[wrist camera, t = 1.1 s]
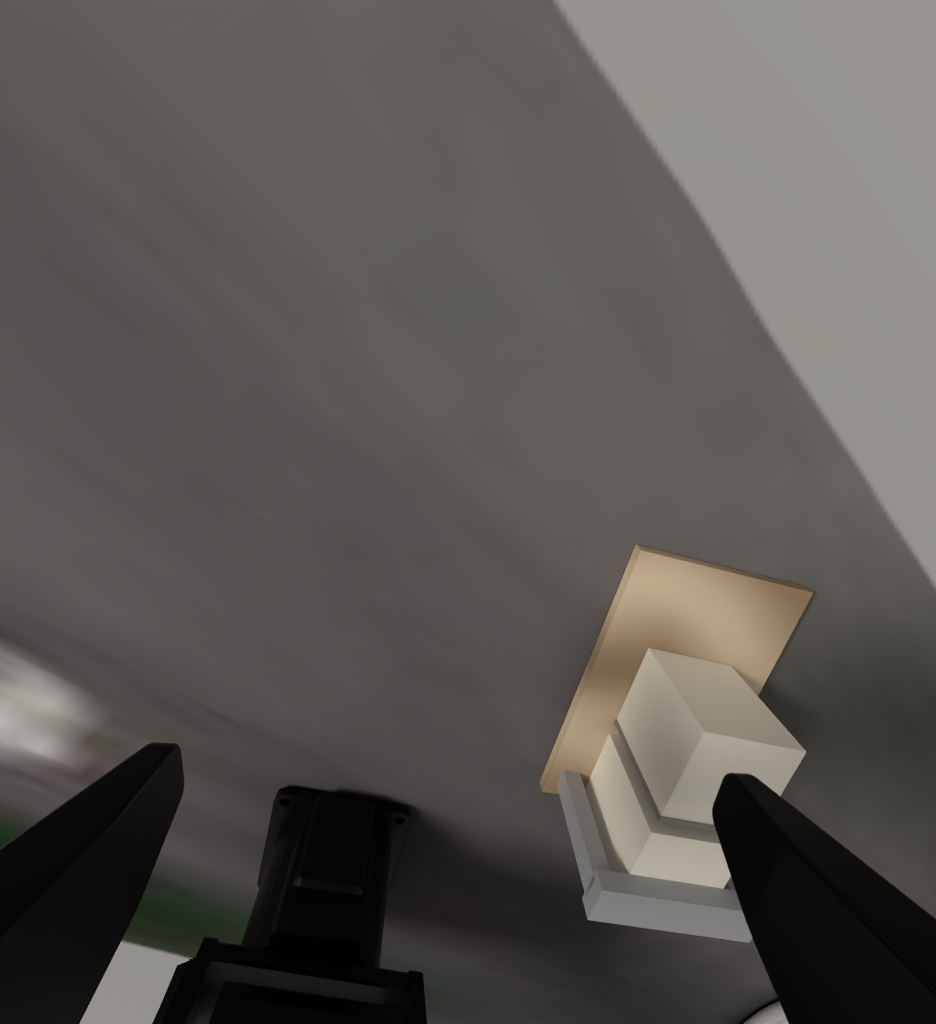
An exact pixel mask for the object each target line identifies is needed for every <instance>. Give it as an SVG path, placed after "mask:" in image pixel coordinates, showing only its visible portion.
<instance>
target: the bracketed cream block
mask: <svg viewBox="0 0 936 1024" xmlns="http://www.w3.org/2000/svg"><path fill="white" fill-rule="evenodd" d="M557 787H558V791H559V795H560V799H561V803H562V807H563V811H564V815H565V818H566V822H567V826H568V830H569V834H570V838H571V842H572V846H573V849H574V853H575V857H576V861H577V865H578V869H579V873H580V877H581V881H582V884H583V888H584V892H585V893H584V895H583V897H582V900H583V904H584V908H585V912H586V916H587V920H591V921H598V922H606V923H613V924H620V925H627V926H634V927H641V928H648V929H655V930H662V931H670V932H677V933H684V934H691V935H698V936H705V937H712V938H719V939H726V940H734V941H741V942H748V943H749V942H750V940H751V939H752V935H751V933H750V930H749V928H748V925H747V923H746V920H745V917H744V914H743V911H742V909H741V906H740V903H739V899H738V896H737V893H736V890H735V887H734V884H733V881H732V878H731V875H730V872H729V869H728V866H727V863H726V860H725V857H724V854H723V851H722V847H721V844H720V841H719V838H718V835H717V832H714V831H708V830H702V829H697V828H691V827H685V826H679V825H673V824H667V823H662V822H659V821H658V819H657V817H656V815H655V812H654V810H653V808H652V806H651V803H650V801H649V799H648V797H647V795H646V792H645V790H644V788H643V786H642V783H641V781H640V779H639V777H638V774H637V772H636V770H635V768H634V765H633V763H632V761H631V759H630V757H629V754H628V752H627V750H626V748H625V745H624V743H623V741H622V739H621V736H619V735H614V734H609V736H608V738H607V740H606V743H605V745H604V747H603V749H602V752H601V754H600V756H599V758H598V761H597V763H596V765H595V767H594V770H593V772H592V774H591V776H590V779H589V781H588V783H587V786H586V788H584V785H583V782H582V779H581V776H580V773H579V772H573V771H568V770H563V773H562V775H561V778H560V780H559V782H558V785H557Z"/></svg>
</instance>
